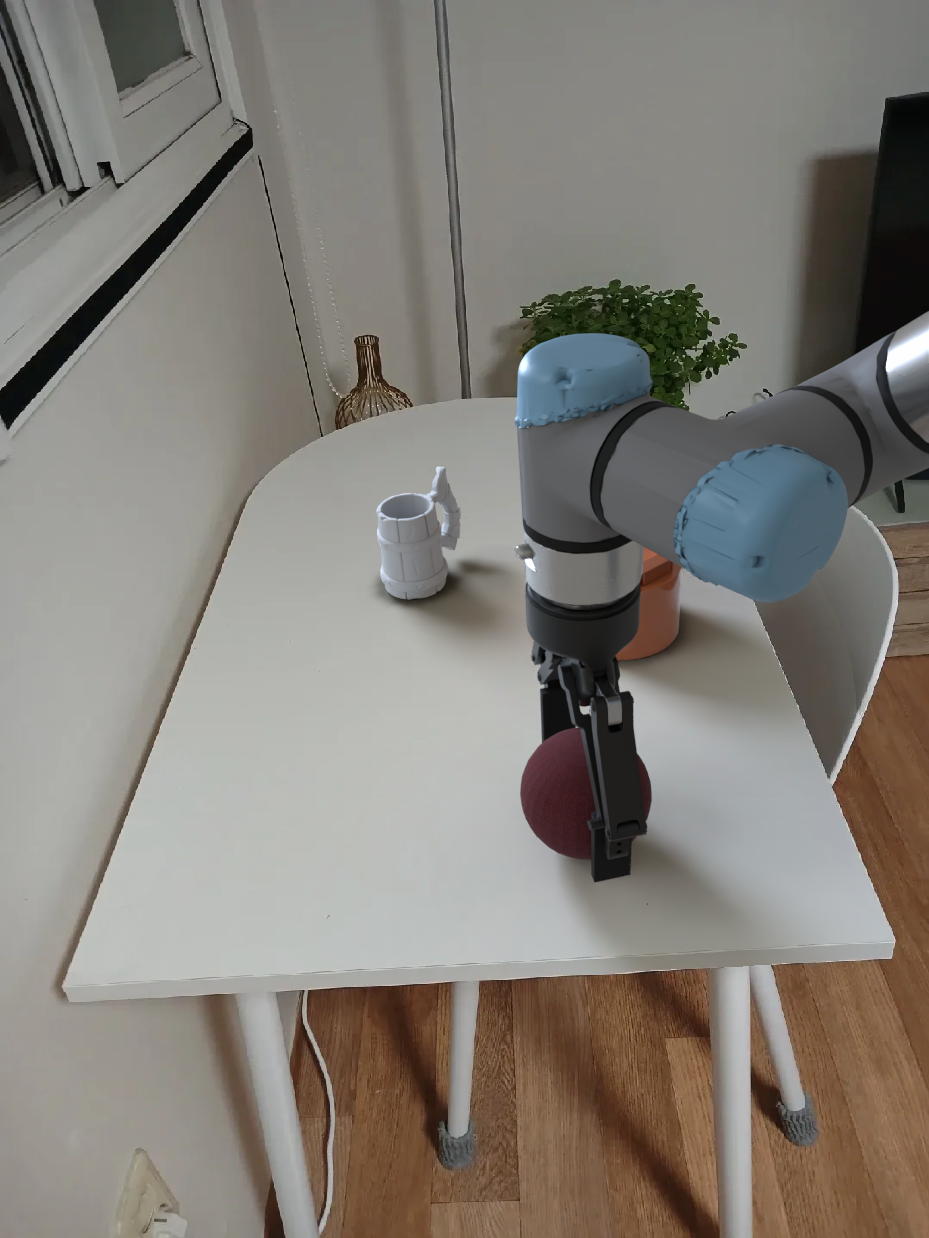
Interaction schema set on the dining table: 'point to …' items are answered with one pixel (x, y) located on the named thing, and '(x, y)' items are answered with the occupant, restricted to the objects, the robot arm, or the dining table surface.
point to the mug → (417, 539)
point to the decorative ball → (565, 794)
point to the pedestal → (656, 607)
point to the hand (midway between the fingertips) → (582, 807)
